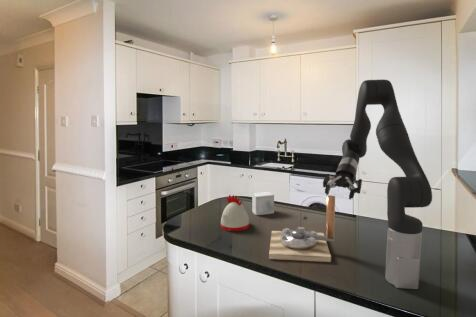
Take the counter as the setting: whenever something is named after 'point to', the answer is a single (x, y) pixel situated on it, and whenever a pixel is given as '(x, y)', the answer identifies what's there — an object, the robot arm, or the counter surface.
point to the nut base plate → (284, 253)
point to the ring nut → (309, 239)
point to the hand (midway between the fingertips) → (338, 195)
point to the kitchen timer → (234, 216)
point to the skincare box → (263, 203)
